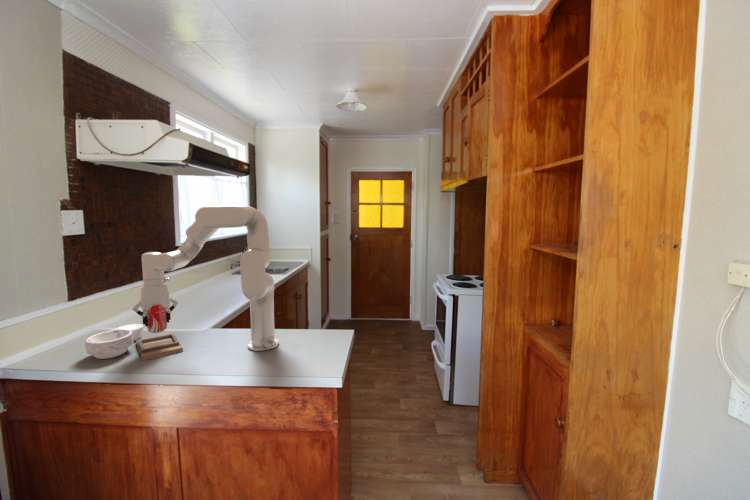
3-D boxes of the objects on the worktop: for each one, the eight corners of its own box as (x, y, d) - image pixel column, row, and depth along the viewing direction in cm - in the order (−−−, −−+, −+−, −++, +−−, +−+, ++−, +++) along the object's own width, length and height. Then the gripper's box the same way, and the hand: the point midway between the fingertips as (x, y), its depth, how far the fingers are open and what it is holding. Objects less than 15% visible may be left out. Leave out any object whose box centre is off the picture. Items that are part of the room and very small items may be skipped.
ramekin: (109, 345, 150) (107, 333, 149) (119, 336, 160) (118, 325, 160) (138, 342, 153) (137, 330, 152) (147, 333, 163) (146, 322, 163)
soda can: (145, 330, 146) (143, 303, 145) (164, 326, 151) (163, 300, 149) (149, 335, 141) (147, 306, 140) (169, 331, 146) (167, 303, 144)
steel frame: (179, 344, 146) (179, 342, 145) (142, 352, 137) (141, 349, 137) (173, 336, 156) (173, 333, 155) (138, 343, 147) (138, 340, 147)
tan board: (182, 351, 143) (182, 347, 142) (142, 360, 134) (141, 356, 134) (173, 336, 159) (173, 333, 159) (136, 343, 151) (136, 340, 151)
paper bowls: (76, 361, 133) (74, 341, 132) (111, 346, 148) (109, 328, 147) (111, 363, 131) (109, 343, 130) (143, 347, 146) (141, 329, 145)
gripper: (176, 278, 152) (178, 317, 154) (127, 283, 141) (131, 325, 143) (179, 280, 146) (182, 321, 148) (129, 286, 135) (132, 330, 137)
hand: (157, 323), depth 145 cm, fingers closed on soda can, 7 cm apart
